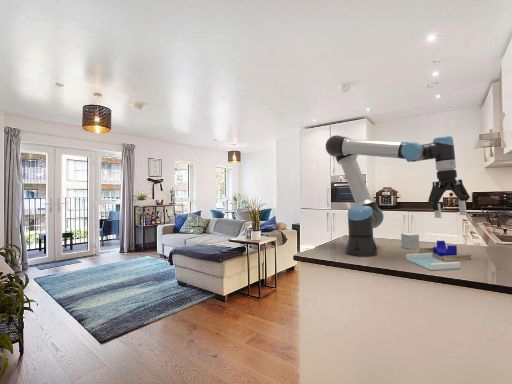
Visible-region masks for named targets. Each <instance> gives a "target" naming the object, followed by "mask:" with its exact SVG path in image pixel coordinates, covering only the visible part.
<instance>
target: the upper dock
mask: <svg viewBox="0 0 512 384" xmlns="http://www.w3.org/2000/svg"><path fill="white" fill-rule="evenodd" d="M419 253H434V248H433V247H419ZM471 256H472V255H471V254H469V253H467V254H457V255H451V256H442V261H443V262H451V261H452V262H456V261H467V260H468V261H470V260H472V257H471Z"/></svg>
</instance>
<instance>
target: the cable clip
mask: <svg viewBox="0 0 512 384" xmlns="http://www.w3.org/2000/svg"><path fill="white" fill-rule="evenodd" d="M457 247H458V246H457V245H455V244H454V245H453V244H452V245H450V244H448V245H447V246H446V241H445V240H436V246H433V247H432V248H434V252H433V254H435V255H437V256H439V257H443V256H451V255H458V250H457V249H458V248H457Z"/></svg>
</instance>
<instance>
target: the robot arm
mask: <svg viewBox="0 0 512 384" xmlns="http://www.w3.org/2000/svg"><path fill="white" fill-rule="evenodd" d="M453 138H454V137H452V136H451V135H442V136H438V137H434V138H433V141H432V142H430V143H423V144H420V143H419V142H415V141H407V142H405V141H393V140H392V141H390V140H371V139H352V138H351V137H349V136H343V135H338V134H337V135H336V134H335V135H332V136H331V137H329V138H328V139H327V141H326V142H325V151H326V152H327V154H328V155H330V156H331V157H334V158H335V160H336V162H337V164H338V165H340V166H341V169H342V170H343V173H344V177H345V179H346V181H347V185H348V187H349V190H350V192H351V195H352V198H353V200H354V202H355V203H354V204H355V206H352V207H349V209H348V210H347V225H348V226H347V227H348V239H347V243H346V246H345V253H346V254H347V255H350V256H356V257H372V256H376V255H378V246H377V244H376V242H375V238H374V229H375V228H377V227H379V226H380V225H381V224H382V223H383V222H384V219H385V217H384V215H385V214H384V213H383V210H382V209H380V207H379V206H378V205H377V202H376V200H373V199H372V196H371V194H370V192H369V190H368V189H369V188H368V187H367V184H366V182H365V179H364V176H363V173H362V171H361V169H360V166H359V163H358V161H357V159H358V156H366V157H367V156H368V157H369V156H370V157H381V158H389V159H390V158H392V159H403V160H406V162H407V163H411V162H412V163H413V162H415V163H417V162H420V161H426V160H427V161H428V160H435V170H436V180H438V181H432V187H431V191H430V194H429V197H428V200H427V202H428V203H430V204H432V210H433V211H434V218H437V219H441V218H442V212H441V211H442V210H441V209H442V208H441V203H439V202H440V200H441V198H442V197H443V195H444V193H445V192H447V191H451V192H452V193H453V194H454V196H456V198H458V199H459V200H458V209H459V215H460V216H467V201H469V199H470V198H471V197H470V195H469V193H468V191H467V189H466V187H465V186H464V184H463V183H464V182H463V180H462V179H457V178H458V174H457V172H458V171H457V170H456V168H457V166H456V165H457V164H456V154H455V143H454V139H453Z"/></svg>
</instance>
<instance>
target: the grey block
mask: <svg viewBox="0 0 512 384" xmlns="http://www.w3.org/2000/svg"><path fill="white" fill-rule="evenodd" d="M400 235H401V236H400V237H401V239H400V241H401V242H400V243H401V248H404V249H409V250H414V249H420V235H419V234H417V233H412V232H406V233H401V234H400Z"/></svg>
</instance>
